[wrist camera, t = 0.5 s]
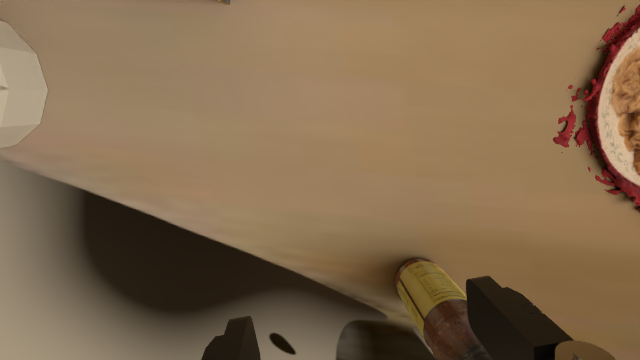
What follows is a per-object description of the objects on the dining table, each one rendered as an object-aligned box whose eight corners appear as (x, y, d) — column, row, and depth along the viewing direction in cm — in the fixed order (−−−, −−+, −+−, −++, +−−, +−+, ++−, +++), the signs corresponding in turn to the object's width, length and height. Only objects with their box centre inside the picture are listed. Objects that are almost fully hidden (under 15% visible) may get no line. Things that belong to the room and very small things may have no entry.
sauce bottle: (429, 304, 45) (527, 458, 26) (385, 291, 44) (453, 440, 25) (449, 260, 44) (569, 388, 24) (405, 246, 43) (492, 366, 23)
